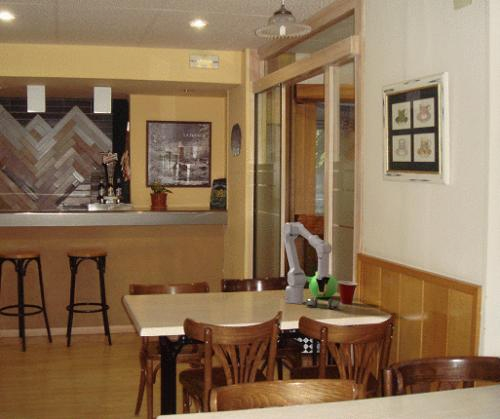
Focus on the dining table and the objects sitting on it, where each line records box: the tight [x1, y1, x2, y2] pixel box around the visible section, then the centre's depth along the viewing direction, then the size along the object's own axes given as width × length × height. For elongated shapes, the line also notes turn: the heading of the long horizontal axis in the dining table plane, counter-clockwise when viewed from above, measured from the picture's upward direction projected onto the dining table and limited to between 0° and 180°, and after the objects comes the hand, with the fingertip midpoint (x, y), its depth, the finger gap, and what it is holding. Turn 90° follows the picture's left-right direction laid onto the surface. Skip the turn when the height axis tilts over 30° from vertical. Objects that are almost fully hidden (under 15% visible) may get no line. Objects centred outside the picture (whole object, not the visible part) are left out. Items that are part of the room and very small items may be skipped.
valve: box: [318, 284, 327, 296], centre depth 383 cm, size 4×4×8 cm
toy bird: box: [306, 270, 339, 299], centre depth 415 cm, size 18×17×15 cm
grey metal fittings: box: [305, 297, 340, 311], centre depth 384 cm, size 17×6×5 cm, turn 70°
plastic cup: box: [337, 280, 358, 305], centre depth 399 cm, size 11×11×12 cm
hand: (322, 291), depth 383 cm, fingers closed on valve, 4 cm apart
